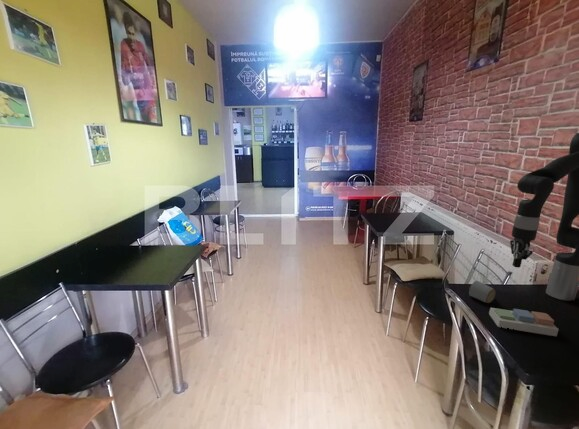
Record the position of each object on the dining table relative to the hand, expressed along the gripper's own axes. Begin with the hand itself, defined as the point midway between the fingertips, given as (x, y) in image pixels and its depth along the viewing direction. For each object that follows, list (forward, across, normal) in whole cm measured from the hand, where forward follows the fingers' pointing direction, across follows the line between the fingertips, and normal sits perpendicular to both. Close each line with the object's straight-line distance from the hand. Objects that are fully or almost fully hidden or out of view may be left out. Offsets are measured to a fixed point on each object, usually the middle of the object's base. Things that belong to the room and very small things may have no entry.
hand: (516, 266), depth 118 cm
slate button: (+17, -11, -1) cm, 21 cm away
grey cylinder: (+20, +7, +7) cm, 23 cm away
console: (+20, -11, -1) cm, 23 cm away
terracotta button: (+18, -11, -7) cm, 22 cm away
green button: (+18, -11, +5) cm, 22 cm away
